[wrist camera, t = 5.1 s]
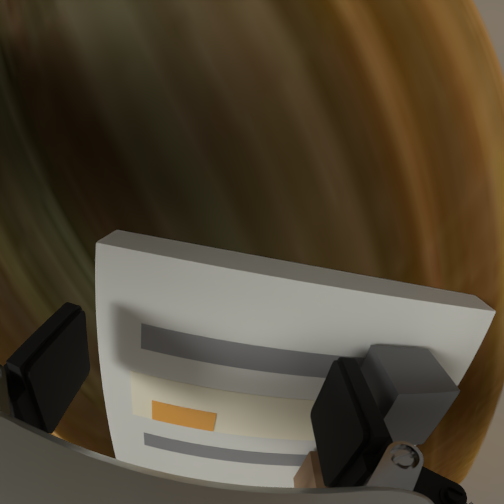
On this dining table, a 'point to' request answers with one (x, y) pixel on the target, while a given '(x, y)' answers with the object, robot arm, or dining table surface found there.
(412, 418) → the dark gray slider
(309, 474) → the walnut slider
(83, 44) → the dining table surface
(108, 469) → the robot arm
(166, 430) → the switch panel
